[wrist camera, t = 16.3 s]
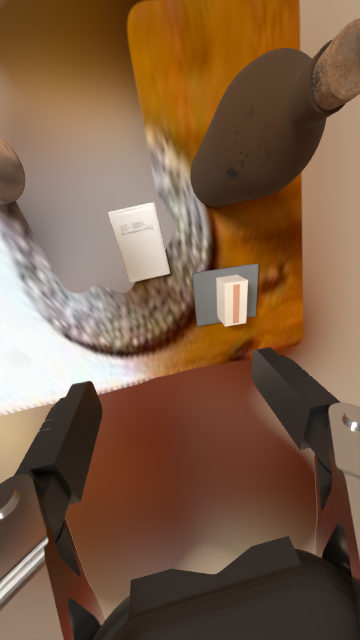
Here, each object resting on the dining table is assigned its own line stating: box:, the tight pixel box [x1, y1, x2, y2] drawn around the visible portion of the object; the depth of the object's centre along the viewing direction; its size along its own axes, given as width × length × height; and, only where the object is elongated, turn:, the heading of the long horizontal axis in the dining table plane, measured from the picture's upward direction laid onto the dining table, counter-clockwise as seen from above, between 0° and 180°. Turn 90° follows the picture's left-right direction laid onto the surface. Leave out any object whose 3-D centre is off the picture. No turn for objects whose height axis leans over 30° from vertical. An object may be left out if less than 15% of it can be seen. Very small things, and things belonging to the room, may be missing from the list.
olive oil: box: [191, 19, 360, 207], centre depth 22 cm, size 11×11×25 cm
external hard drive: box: [108, 202, 170, 283], centre depth 36 cm, size 2×8×12 cm
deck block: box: [216, 275, 248, 327], centre depth 40 cm, size 9×4×5 cm, turn 6°
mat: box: [192, 263, 259, 326], centre depth 42 cm, size 14×12×1 cm
